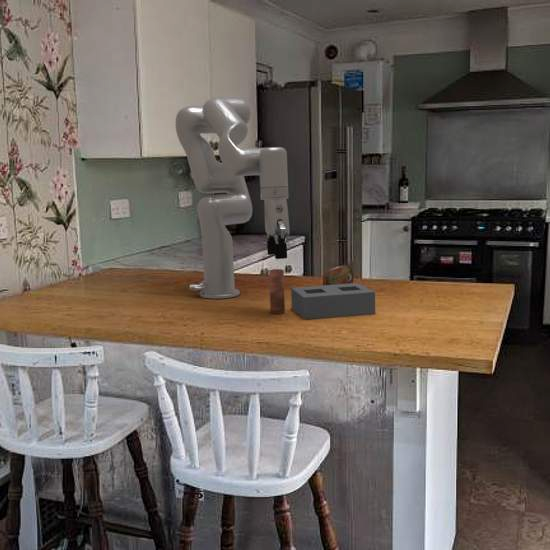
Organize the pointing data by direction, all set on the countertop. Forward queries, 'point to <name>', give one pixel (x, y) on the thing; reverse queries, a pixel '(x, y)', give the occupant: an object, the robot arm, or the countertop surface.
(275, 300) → the pin
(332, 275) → the tin
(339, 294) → the bore block
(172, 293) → the countertop surface
